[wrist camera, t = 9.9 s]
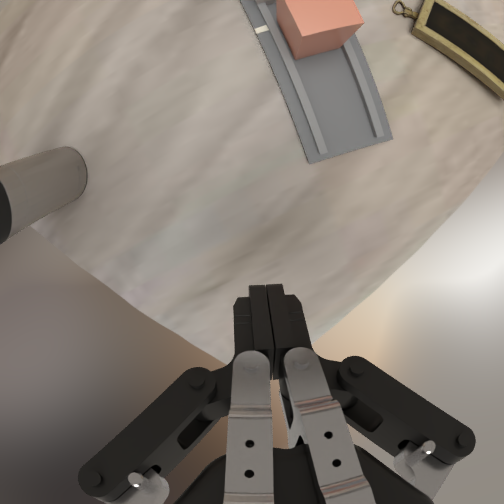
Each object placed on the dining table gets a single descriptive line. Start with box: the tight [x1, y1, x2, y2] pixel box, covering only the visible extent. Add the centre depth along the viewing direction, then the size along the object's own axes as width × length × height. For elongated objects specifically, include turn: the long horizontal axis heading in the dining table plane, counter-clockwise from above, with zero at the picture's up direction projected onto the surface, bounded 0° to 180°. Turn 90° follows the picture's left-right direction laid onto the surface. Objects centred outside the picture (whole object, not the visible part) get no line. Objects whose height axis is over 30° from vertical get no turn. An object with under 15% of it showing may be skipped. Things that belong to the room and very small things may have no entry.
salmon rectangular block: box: [276, 0, 364, 60], centre depth 24 cm, size 6×6×12 cm
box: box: [392, 0, 504, 100], centre depth 26 cm, size 8×22×5 cm, turn 69°
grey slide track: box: [240, 0, 393, 164], centre depth 29 cm, size 30×12×6 cm, turn 21°
